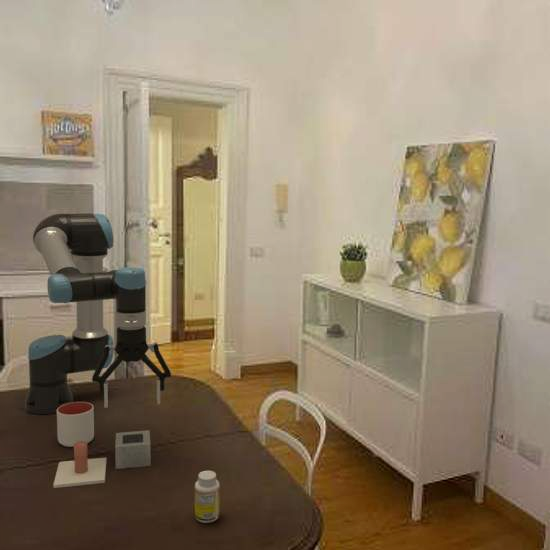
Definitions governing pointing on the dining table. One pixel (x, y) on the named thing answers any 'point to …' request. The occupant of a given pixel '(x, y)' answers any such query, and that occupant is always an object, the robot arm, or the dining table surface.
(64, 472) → the peg stand
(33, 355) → the robot arm
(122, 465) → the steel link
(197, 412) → the dining table surface
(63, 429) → the cup
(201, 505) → the supplement bottle
